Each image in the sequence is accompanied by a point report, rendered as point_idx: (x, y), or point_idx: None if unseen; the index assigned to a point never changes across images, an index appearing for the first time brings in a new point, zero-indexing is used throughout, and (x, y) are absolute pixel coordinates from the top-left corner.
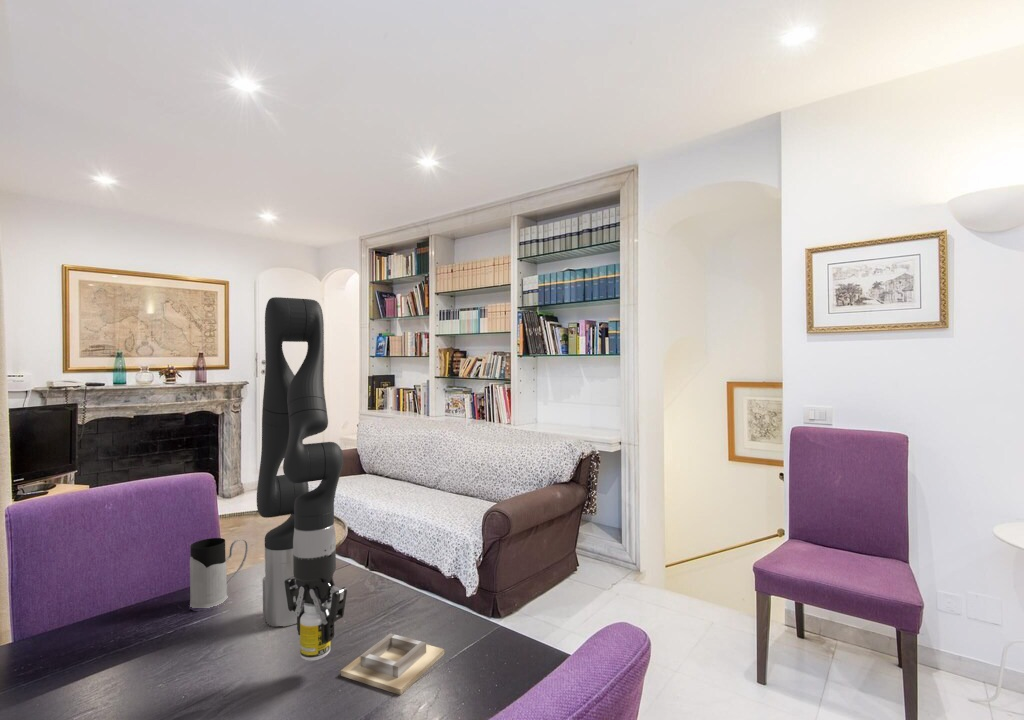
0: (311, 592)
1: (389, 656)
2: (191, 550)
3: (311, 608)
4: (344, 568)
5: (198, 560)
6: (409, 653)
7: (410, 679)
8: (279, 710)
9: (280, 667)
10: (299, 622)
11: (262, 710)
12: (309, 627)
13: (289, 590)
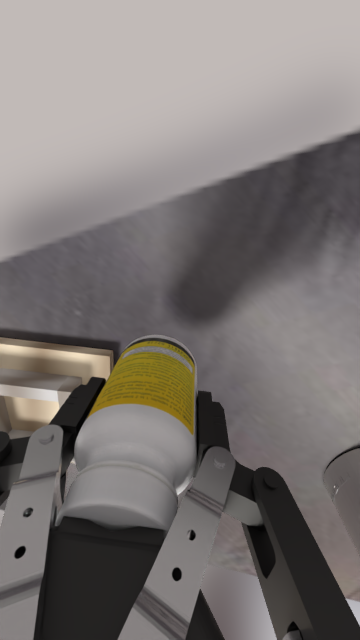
0: None
1: (55, 414)
2: None
3: (88, 493)
4: (346, 591)
5: None
6: None
7: None
8: (148, 210)
9: (263, 340)
10: (205, 426)
11: (188, 196)
12: (114, 401)
13: (317, 628)
